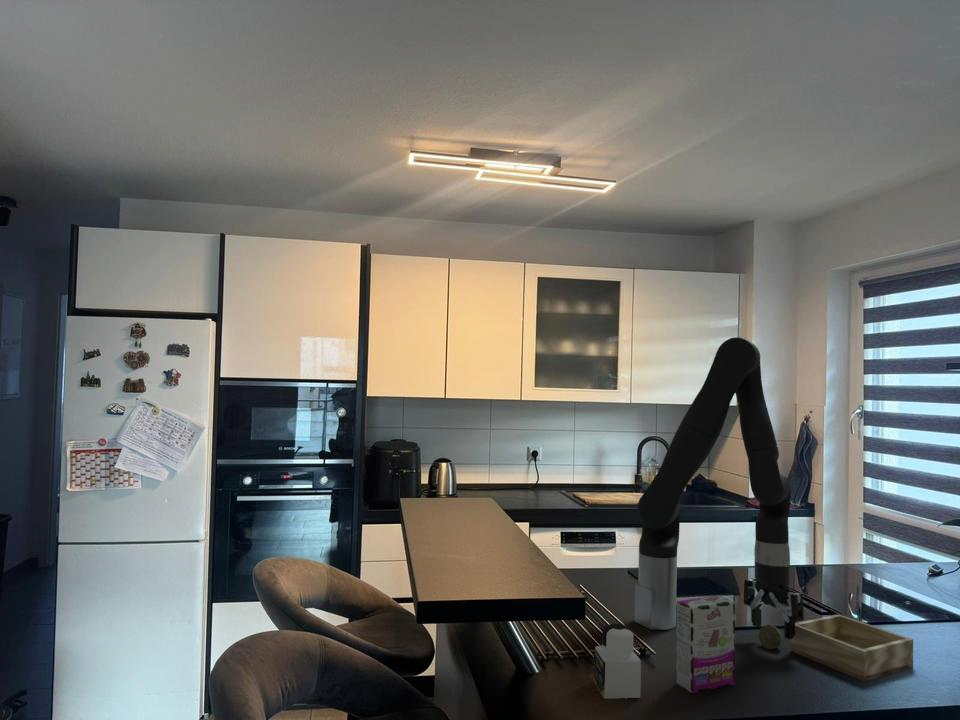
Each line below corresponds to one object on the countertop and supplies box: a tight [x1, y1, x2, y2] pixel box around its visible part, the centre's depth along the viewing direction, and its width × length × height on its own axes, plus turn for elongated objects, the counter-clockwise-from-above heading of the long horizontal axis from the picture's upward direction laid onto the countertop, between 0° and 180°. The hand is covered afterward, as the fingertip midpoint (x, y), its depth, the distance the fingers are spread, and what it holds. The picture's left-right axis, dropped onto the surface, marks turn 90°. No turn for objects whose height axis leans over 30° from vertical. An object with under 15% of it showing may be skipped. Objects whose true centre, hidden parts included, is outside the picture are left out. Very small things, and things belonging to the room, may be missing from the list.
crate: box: [790, 613, 914, 683], centre depth 146 cm, size 17×17×6 cm
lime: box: [758, 624, 783, 650], centre depth 151 cm, size 4×5×5 cm
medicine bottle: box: [593, 623, 642, 700], centre depth 127 cm, size 7×7×12 cm
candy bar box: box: [675, 594, 736, 694], centre depth 131 cm, size 11×5×16 cm, turn 114°
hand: (772, 632), depth 151 cm, fingers open, 8 cm apart
